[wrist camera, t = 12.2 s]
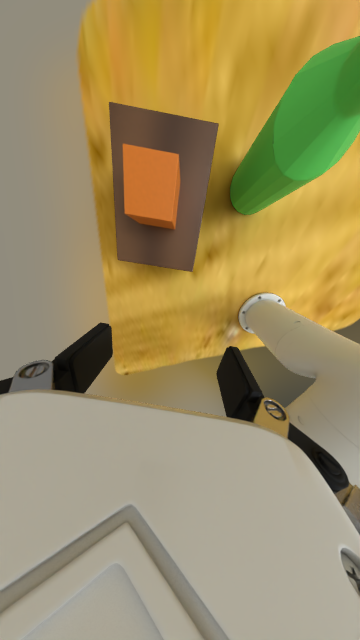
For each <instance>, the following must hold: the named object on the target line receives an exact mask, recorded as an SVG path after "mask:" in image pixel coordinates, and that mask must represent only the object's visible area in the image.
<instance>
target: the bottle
mask: <svg viewBox="0 0 360 640" xmlns="http://www.w3.org/2000/svg"><path fill="white" fill-rule="evenodd" d="M359 131H360V36H358V37H355V38H352V39H349V40H346V41H342V42H339V43H336V44H333V45H331V46H330V47H328V48H326V49H324V50H323V51H321V52H319V53H318V54H316V55H314V56H313V57H312V58H311V59H310V60H309V61H308V62H307V63H306V64H305V65H304V66H303V68H302V69H301V70H300V71H299V72H298V73H297V74H296V75H295V77H294V79H293V80H292V82H291V84H290V86H289V87H288V89H287V90H286V92H285V93H284V95H283V97H282V98H281V100H280V101H279V103H278V105H277V106H276V108H275V109H274V111H273V112H272V114H271V116H270V117H269V119H268V120H267V122H266V124H265V125H264V127H263V128H262V130H261V131H260V133H259V135H258V136H257V138H256V139H255V141H254V143H253V144H252V146H251V148H250V149H249V151H248V153H247V154H246V156H245V157H244V159H243V161H242V162H241V164H240V166H239V167H238V169H237V171H236V173H235V175H234V176H233V179H232V183H231V186H230V198H231V202H232V205H233V207H234V208H235V209H236V210H237V211H238V212H240V213H242V214H244V215H251V214H254V213H256V212H258V211H260V210H262V209H264V208H265V207H267V206H269V205H271V204H272V203H274V202H276V201H278V200H279V199H281V198H283V197H284V196H286V195H288V194H290V193H291V192H293V191H295V190H296V189H298V188H300V187H302V186H303V185H305V184H307V183H309V182H310V181H312V180H314V179H315V178H317V177H319V176H321V175H322V174H323V173H325V172H326V171H327V170H328V169H330V168H331V167H332V166H333V165H334V164H336V163H337V162H338V161H339V160H340V159H341V157H342V156H343V155H344V153H345V152H346V151H347V150H348V148H349V147H350V146H351V144H352V143H353V142H354V140H355V138H356V137H357V135H358V133H359Z"/></svg>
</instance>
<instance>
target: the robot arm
mask: <svg viewBox="0 0 360 640" xmlns="http://www.w3.org/2000/svg"><path fill="white" fill-rule="evenodd" d="M242 311H243V312H242ZM238 319H239V323H240V325H241V326H242V328H243V329H244V330H246V331H247V332H250V333H254V334H256V335H257V336H258V338H259V339H260V340H261V341H262V342H263V343H264V344H265V346H266V347H267V348H268V349H269V350H270V351H271V352H272V353H273V354H274V356H275V357H276V358H277V359H278V360H279V361H280V362H281V363H282V364H283V365H284V366H285V367H286V368H287V369H289V370H290V371H292V372H294V373H296V374H300V375H303V376H307V377H312V378H316V381H315V383H314V384H312V386H310V387H309V389H308V390H306V391H305V392H304V393H303V394H302V395H300V396H299V397H298V398H297V399H295V401H293V402H292V403H291V404H290V405H289V406H287V407H286V408H285V409H284V408H283V406H282V405H280V404H279V403H278V402H277V401H275V400H273V399H270V398H264V396H263V394H262V391H261V390H260V388H259V386H258V384H257V382H256V380H255V378H254V377H253V375H252V373H251V371H250V369H249V367H248V366H247V364H246V362H245V360H244V358H243V356H242V355H241V353H240V351H239V349H238V348H237V347H232V346H230V347H229V348H226V351H225V353H224V356H223V358H222V360H221V363H220V365H219V368H218V370H217V379H218V383H219V387H220V391H221V396H222V400H223V404H224V408H225V412H226V416H227V417H223V416H218V415H212V414H207V413H201V412H195V411H189V410H183V409H177V408H171V407H165V406H159V405H152V404H147V403H141V402H134V401H128V400H122V399H115V398H109V397H103V396H97V395H89V394H84V393H85V392H86V390H87V389H88V388H89V386H90V385H91V384H92V382H93V381H94V380H95V378H96V377H97V376H98V374H99V373H100V372H101V370H102V369H103V368H104V366H105V365H106V364H107V362H108V361H109V360H110V358H111V357H112V354H113V349H112V330H111V326H109V324H106V323H99V324H98V325H97V326H95V327H94V328H93V329H91V330H90V331H89V332H87V333H86V334H85V335H84V336H82V337H81V338H80V339H78V340H77V341H76V342H74V343H73V344H72V345H71V346H69V347H68V348H67V349H65V350H64V351H63V352H61V353H60V354H59V355H58V356H56V357H55V359H54V360H53V361H52V362H51V361H48V360H39V361H34V362H31V363H29V364H26V365H24V366H23V367H21V368H20V369H18V371H16V373H15V375H14V377H12V378H9V379H5V380H1V381H0V640H360V344H358V343H356V342H353V341H351V340H349V339H347V338H345V337H343V336H341V335H339V334H337V333H335V332H333V331H331V330H329V329H327V328H325V327H323V326H321V325H319V324H317V323H315V322H313V321H312V320H310V319H308V318H306V317H304V316H302V315H300V314H298V313H296V312H294V311H292V310H291V309H289V308H287V307H286V306H285V303H284V301H283V299H282V298H280V297H279V296H277V295H275V294H273V293H260V294H257V295H254V296H253V297H251V298H249V299H248V300H247V301H246V302H245V303H244V304H243V306H242V307H241V309H240V311H239V315H238Z"/></svg>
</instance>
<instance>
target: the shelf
mask: <svg viewBox="0 0 360 640" xmlns="http://www.w3.org/2000/svg"><path fill="white" fill-rule="evenodd" d="M109 110H110V128H111V146H112V165H113V183H114V201H115V219H116V237H117V256H118V260H121V261H128V262H134V263H140V264H146V265H153V266H159V267H165V268H172V269H178V270H184V271H190V272H192V271H193V266H194V260H195V255H196V249H197V243H198V238H199V232H200V226H201V221H202V215H203V210H204V204H205V198H206V193H207V187H208V181H209V176H210V170H211V164H212V159H213V153H214V148H215V142H216V136H217V131H218V125H219V124H218V123H213V122H208V121H203V120H198V119H193V118H188V117H183V116H178V115H173V114H168V113H163V112H158V111H152V110H147V109H142V108H137V107H132V106H127V105H122V104H117V103H112V102H109ZM123 144H128V145H133V146H138V147H144V148H149V149H154V150H159V151H165V152H170V153H175V154H179V167H180V190H179V199H178V208H177V217H176V226H175V229H169V228H163V227H157V226H151V225H146V224H140V223H138V222H137V221H135V220H134V219H132V218H131V217H129V216H128V215H126V214H125V208H124V173H123Z"/></svg>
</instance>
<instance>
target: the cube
mask: <svg viewBox="0 0 360 640" xmlns="http://www.w3.org/2000/svg"><path fill="white" fill-rule="evenodd" d="M123 173H124V208H125V214H126V215H128V216H129V217H131V218H132V219H134V220H135V221H137V222H138V223H140V224H146V225H151V226H157V227H163V228H169V229H175V226H176V217H177V208H178V199H179V190H180V167H179V154H175V153H170V152H165V151H159V150H154V149H149V148H144V147H138V146H133V145H128V144H123Z"/></svg>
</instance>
